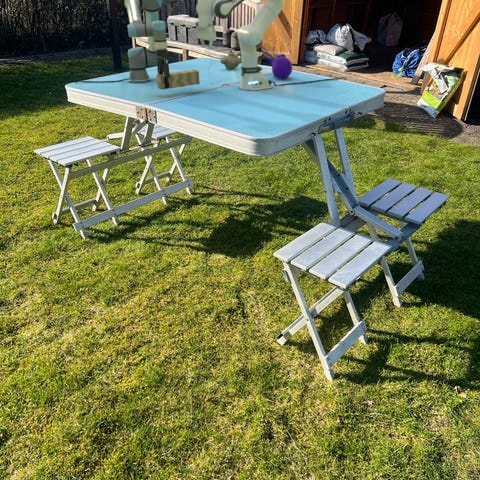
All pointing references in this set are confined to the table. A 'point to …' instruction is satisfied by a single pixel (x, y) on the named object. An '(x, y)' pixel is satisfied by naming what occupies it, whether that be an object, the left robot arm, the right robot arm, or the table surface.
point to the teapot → (231, 60)
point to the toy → (280, 66)
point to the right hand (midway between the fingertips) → (207, 47)
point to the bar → (179, 79)
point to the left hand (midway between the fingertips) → (164, 87)
